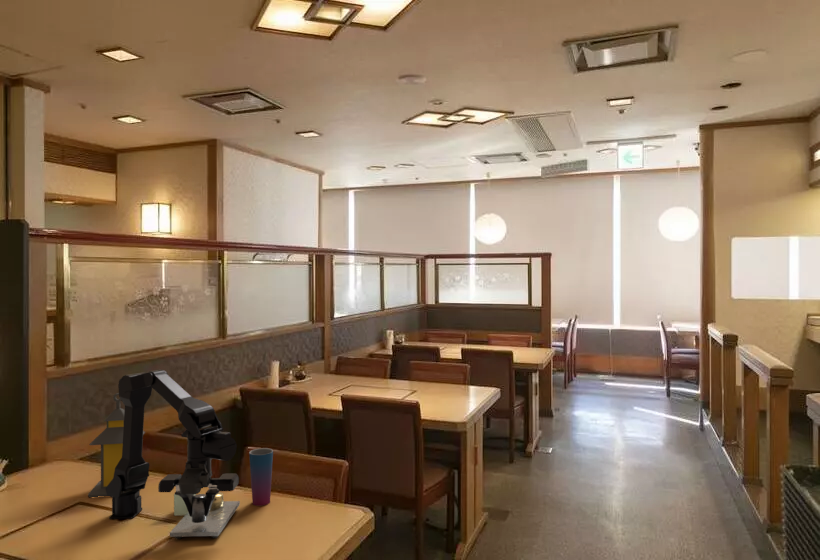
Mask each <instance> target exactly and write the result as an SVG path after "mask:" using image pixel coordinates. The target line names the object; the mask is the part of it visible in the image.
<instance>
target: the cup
mask: <svg viewBox="0 0 820 560" xmlns="http://www.w3.org/2000/svg"><path fill="white" fill-rule="evenodd" d="M248 455H249V457H248V458H249V470H250V484H251V487H250V488H251V498H252V501H251V503H252V505H254V506H256V507H257V506H258V507H261V506H266V505H268V504H270V503H271V497H272V496H271V495H272V494H271V493H272V491H271V490H272V476H273V475H272V473H273V461H274V460H273V457H274V450H273V449H272V448H268V447H262V448H254V449H252V450H250V451H249V452H248Z"/></svg>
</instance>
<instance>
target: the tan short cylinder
mask: <svg viewBox="0 0 820 560" xmlns="http://www.w3.org/2000/svg"><path fill="white" fill-rule="evenodd" d="M223 501H224V493H223V491H220V492H219V493H218V494H216V496H215V498H214V501H213V503H212V506H211V509H216V508H220V507H222V506H223Z"/></svg>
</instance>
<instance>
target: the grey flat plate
mask: <svg viewBox="0 0 820 560" xmlns="http://www.w3.org/2000/svg"><path fill="white" fill-rule="evenodd" d="M240 504H241V502H240V500H232V501H231V500H229V501H228V500H227V501H224V500H223V506H222V507H220V508H216V509H210V512H209V515H208V516H207V520H206V521H204V522H201V523H193V522H192V517H190V515H189V512H188V513H187V514H186V515H183V517H182V518H181V519H180V521H179V522H177V524H176V525H175V526H174V527H173V528H172V529H171V531H170V532H169V537H170V538H171V537H172V538H175V540H182V538H183V537H211V539H217V538H218V537H219V535H221V533H222V531H223V530H224V529H225V527H226V526H227V524H228V522H229V521H230V520H231V518H232V516H233V515H234V514H235V512H236V511H237V509H238V508H239V507H240Z"/></svg>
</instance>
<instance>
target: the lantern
mask: <svg viewBox="0 0 820 560" xmlns="http://www.w3.org/2000/svg"><path fill="white" fill-rule="evenodd" d="M112 396H113V399H112V400H113V401H114V402H115V403H116V404H115V406H116V407H115V409H114V410H112V412H110V413H109V415H108V416H107V417H106V418H105V419H104V420H103V422H106V428H104V429H103V430H102V432H101V433H100V434H98V436H96V437H95V439H93V440H92V441H91V442H90V443H89V446H100V480H99V481H98V482H97V483H96V484H95V485H94V486H93V488H92V489H91V490H90V491H89V492H88V493H87V497H88V496H89V497H98V496H107V493H106V487H107V486H108V484H109V483H110V482H111V481H112V479H113V477H114V471H115V467H116V466H117V464H118V462H119V461H120V459H121V458H122V448H123V430H124V412H125V408H123V407H122V408H121V402H122V400H121V399H120V398H117V396H119V392H117V393H115V394H114V395H112ZM145 434H146V431H144V430H143V435H145Z"/></svg>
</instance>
